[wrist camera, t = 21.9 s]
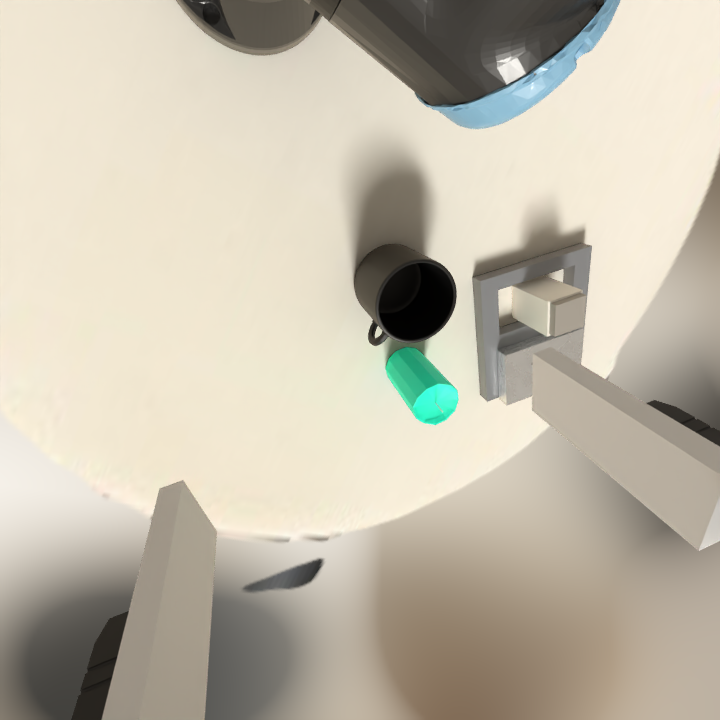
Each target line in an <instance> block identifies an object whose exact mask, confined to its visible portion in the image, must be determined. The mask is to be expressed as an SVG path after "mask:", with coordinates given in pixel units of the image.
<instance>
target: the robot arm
mask: <svg viewBox="0 0 720 720" xmlns="http://www.w3.org/2000/svg"><path fill="white" fill-rule="evenodd" d="M176 1H177V2H178V4H179V5H180V6H181V8H182V9H183V10H184V12H185V13H186V14H187V15H188V16H189V17H190V19H191V20H192V21H193V22H194V23H195V24H196V25H197V26H198V27H199V28H200V29H202V30H203V31H204V32H205V33H206V34H208V35H209V36H210V37H212V38H213V39H215V40H216V41H218V42H219V43H221V44H223V45H225V46H227V47H229V48H231V49H233V50H236V51H239V52H242V53H246V54H251V55H272V54H277V53H281V52H284V51H286V50H289V49H291V48H293V47H294V46H296V45H298V44H299V43H300V42H302V41H303V40H304V39H305V38H306V37H307V36H308V35H309V34H310V33H311V32H312V31H313V29H314V28H315V27H316V25H317V24H318V22H319V21H320V19H321V17H322V16H324V17H325V18H326V19H327V20H328V21H329V22H330V23H331V24H332V25H334V26H335V27H336V28H337V29H339V30H340V31H341V32H342V33H343V34H345V35H346V36H347V37H348V38H350V39H351V40H352V41H353V42H354V43H356V44H357V45H358V46H359V47H361V48H362V49H363V50H364V51H365V52H367V53H368V54H369V55H370V56H372V57H373V58H374V59H375V60H376V61H378V62H379V63H380V64H381V65H383V66H384V67H385V68H386V69H387V70H389V71H390V72H391V73H392V74H394V75H395V76H396V77H397V78H398V79H400V80H401V81H402V82H403V83H405V84H406V85H407V86H408V87H409V88H411V89H412V90H413V91H414V92H415V95H416V96H417V98H418V99H419V100H420V101H421V102H422V103H423V104H424V105H425V106H427V107H430V108H432V109H433V110H438V111H439V112H440V113H442V114H443V115H444V116H446V117H447V118H449V119H450V120H451V121H453V122H454V123H456V124H457V125H459V126H462V127H466V128H469V129H483V128H489V127H493V126H496V125H499V124H502V123H504V122H507V121H509V120H511V119H513V118H515V117H516V116H518V115H520V114H522V113H523V112H525V111H527V110H528V109H530V108H531V107H533V106H534V105H536V104H537V103H538V102H540V101H541V100H542V99H544V98H545V97H546V96H547V95H548V94H550V93H551V92H552V91H553V90H554V89H556V88H557V87H558V86H559V85H560V84H561V83H562V82H563V81H564V80H565V79H566V78H567V77H568V76H569V75H570V74H571V73H572V72H573V71H574V70H575V69H576V66H577V63H576V60H577V59H578V58H579V57H580V56H582V55H583V54H585V53H587V52H589V51H591V50H592V49H593V48H594V47H595V45H596V44H597V43H598V41H599V40H600V38H601V37H602V35H603V34H604V32H605V31H606V29H607V28H608V26H609V24H610V22H611V20H612V18H613V16H614V14H615V11H616V9H617V7H618V5H619V3H620V0H176ZM532 411H534V412H535V413H536V414H537V415H538V416H539V417H541V418H542V419H543V420H544V421H545V422H547V423H548V424H549V425H550V426H551V427H553V428H554V429H555V430H556V431H557V432H558V433H560V434H561V435H562V436H563V437H564V438H566V439H567V440H568V441H569V442H570V443H571V444H573V445H574V446H575V447H576V448H577V449H579V450H580V451H581V452H582V453H583V454H584V455H586V456H587V457H588V458H589V459H590V460H592V461H593V462H594V463H595V464H596V465H598V466H599V467H600V468H601V469H602V470H603V471H605V472H606V473H607V474H608V475H609V476H611V477H612V478H613V479H614V480H615V481H616V482H618V483H619V484H620V485H621V486H623V487H624V488H625V489H626V490H627V491H628V492H630V493H631V494H632V495H633V496H634V497H635V498H637V499H638V500H639V501H640V502H641V503H643V504H644V505H645V506H646V507H647V508H649V509H650V510H651V511H652V512H653V513H654V514H656V515H657V516H658V517H659V518H660V519H662V520H663V521H664V522H665V523H666V524H667V525H669V526H670V527H671V528H672V529H673V530H675V531H676V532H677V533H678V534H679V535H680V536H682V537H683V538H684V539H685V540H687V541H688V542H689V543H690V544H691V545H692V546H694V547H695V548H696V549H697V550H698V551H699V550H701V549H704V548H706V547H708V546H710V545H712V544H714V543H716V542H719V541H720V431H718V430H717V429H715V428H710V426H709V425H708V424H706V423H704V422H702V421H700V420H698V419H697V420H696V419H695V418H694V417H693V416H691V415H690V414H688V413H686V412H684V411H682V410H681V409H679V408H677V407H674V406H671V405H668V404H665V403H662V402H659V401H656V400H654V401H651V402H649V403H645V402H643V401H641V400H640V399H638V398H636V397H634V396H633V395H631V394H629V393H628V392H626V391H624V390H623V389H621V388H619V387H618V386H616V385H614V384H612V383H611V382H609V381H607V380H606V379H604V378H602V377H601V376H599V375H597V374H596V373H594V372H592V371H590V370H589V369H587V368H585V367H584V366H582V365H580V364H579V363H577V362H575V361H573V360H572V359H570V358H568V357H567V356H565V355H563V354H562V353H560V352H558V351H556V350H555V349H553V348H551V347H549V348H546V349H544V350H541V351H538V352H535V353H533V369H532ZM216 538H217V531H216V529H215V528H214V526H213V525H212V523H211V522H210V520H209V519H208V517H207V516H206V514H205V513H204V511H203V510H202V508H201V507H200V505H199V504H198V502H197V501H196V499H195V498H194V496H193V495H192V493H191V492H190V490H189V489H188V487H187V486H186V484H185V482H184V481H183V480H182V481H180V482H177V483H174V484H171V485H169V486H166V487H163V488H160V490H159V493H158V497H157V501H156V505H155V509H154V513H153V517H152V521H151V526H150V530H149V533H148V537H147V541H146V545H145V550H144V553H143V557H142V562H141V565H140V569H139V573H138V577H137V581H136V585H135V589H134V593H133V597H132V601H131V605H130V609H129V611H128V612H125V613H123V614H120V615H118V616H115V617H113V618H110V619H109V620H108V622H107V624H106V625H105V627H104V629H103V630H102V632H101V634H100V636H99V637H98V639H97V641H96V642H95V644H94V648H93V651H92V654H91V657H90V661H89V664H88V667H87V669H88V672H87V673H86V674H85V677H84V680H83V684H82V687H81V695H79V697H78V700H77V703H76V707H75V710H74V713H73V716H72V720H204V719H205V704H206V689H207V674H208V659H209V643H210V628H211V613H212V598H213V583H214V568H215V553H216Z"/></svg>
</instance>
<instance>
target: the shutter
mask: <svg viewBox="0 0 720 720" xmlns="http://www.w3.org/2000/svg"><path fill="white" fill-rule="evenodd" d="M583 337H584V328H583V327H581V328H578V329H575V330H573V331H570V332H567V333H564V334H561V335H559V336H556V337H554V336H552V335H551V336H548V337H547V336H545V335H543V334H541V335H539V336H536V337H533V338H530V339H527V340H524V341H521V342H518V343H516V344H513V345H510V346H507V347H504V348H501V349H498V350H497V360H498V387H499V399H500V400H501V401H502V402H503V403H504V404H505V405H509V404H512V403H515V402H517V401H520V400H523V399H525V398H528V397H531V396H532V369H533V353H535V352H538V351H541V350H544V349H546V348H549V347H551V348H553V349H555V350H556V351H558V352H560V353H562V354H563V355H565V356H567V357H568V358H570V359H572V360H573V361H575V362H577V363H579V364H580V365H581V358H582V347H583Z"/></svg>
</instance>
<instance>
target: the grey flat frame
mask: <svg viewBox="0 0 720 720" xmlns="http://www.w3.org/2000/svg"><path fill="white" fill-rule="evenodd" d="M591 250H592V246H590V245H586V244H582V243H580V244H577V245H574V246H570V247H567V248H564V249H561V250H558V251H555V252H551V253H548V254H545V255H542V256H539V257H536V258H532V259H529V260H526V261H523V262H520V263H517V264H513V265H510V266H507V267H504V268H501V269H498V270H494V271H491V272H488V273H485V274H482V275H479V276H475V277H473V292H474V307H475V322H476V337H477V352H478V367H479V382H480V395H481V396H482V397H483V398H484V399H485V400H486V401H490V400H493V399H495V398H498V397H499V387H498V360H497V350H498V349H501V348H504V347H507V346H510V345H513V344H516V343H518V342H521V341H524V340H527V339H530V338H533V337H536V336H539V335H541V333H540V332H538V331H536V330H534V329H532V328H531V327H529V326H527V325H525V324H524V323H522V322H520V321H518V322H515V323H512V324H509V325H506V326H503V327H500V328H499V307H498V290H500V289H503V288H506V287H509V286H512V285H515V284H518V283H521V282H524V281H527V280H530V279H533V278H537V277H540V276H543V275H546V274H549V273H552V272H555V271H558V270H561V269H564V280H563V283H565V284H568V285H570V286H573V287H576V288H579V289H581V290H583V292H582V294H585V295H587V293H588V282H589V271H590V260H591ZM586 303H587V296H586ZM585 314H586V308H585ZM584 325H585V320H584ZM583 328H584V327H583Z"/></svg>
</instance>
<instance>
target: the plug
mask: <svg viewBox="0 0 720 720" xmlns="http://www.w3.org/2000/svg"><path fill="white" fill-rule="evenodd" d="M582 292H583V290H581V289H579V288H576V287H573V286H570V285H568V284H565V283H562V282H559V281H557V280H554V279H551V278H548V277H546V276H540V277H537V278H533V279H530V280H527V281H524V282H521V283H518V284H515V285H512V317H513V318H515V319H516V320H518V321H520V322H522V323H524V324H525V325H527V326H529V327H531V328H532V329H534V330H536V331H538V332H540V333H541V334H543V335H545V336H547V337H548V336H551V335H552V336H554V337H556V336H559V335H561V334H564V333H567V332H570V331H573V330H575V329H578V328H581V327H584V320H585V308H586V296H587V295H585V294H582Z"/></svg>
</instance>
